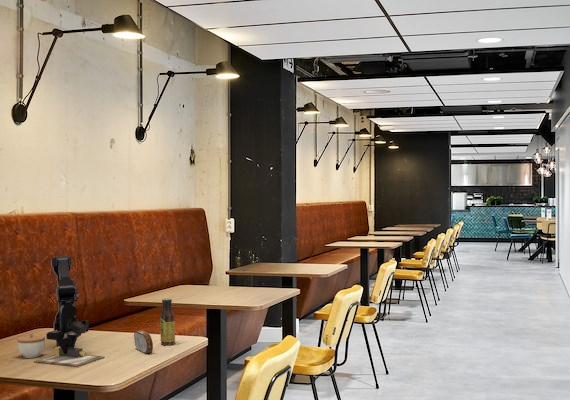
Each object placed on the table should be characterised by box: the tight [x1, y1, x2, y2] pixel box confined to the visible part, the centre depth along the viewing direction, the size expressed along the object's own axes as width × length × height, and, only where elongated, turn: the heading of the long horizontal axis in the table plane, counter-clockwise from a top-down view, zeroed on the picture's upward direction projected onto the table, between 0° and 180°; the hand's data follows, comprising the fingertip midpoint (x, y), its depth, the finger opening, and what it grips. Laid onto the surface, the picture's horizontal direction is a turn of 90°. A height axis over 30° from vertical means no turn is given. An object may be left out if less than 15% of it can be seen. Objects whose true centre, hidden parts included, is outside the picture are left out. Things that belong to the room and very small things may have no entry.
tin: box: [133, 329, 154, 354], centre depth 309 cm, size 15×3×8 cm, turn 32°
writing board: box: [33, 354, 105, 368], centre depth 297 cm, size 22×16×1 cm
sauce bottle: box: [159, 297, 176, 346], centre depth 322 cm, size 6×6×20 cm
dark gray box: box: [53, 346, 86, 358], centre depth 301 cm, size 14×3×3 cm, turn 65°
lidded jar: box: [17, 333, 46, 359], centre depth 305 cm, size 11×11×9 cm
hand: (68, 353), depth 302 cm, fingers closed on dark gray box, 3 cm apart
